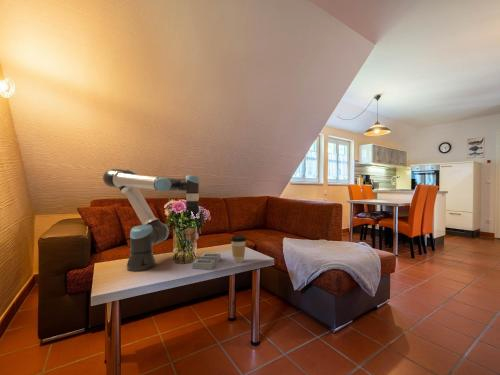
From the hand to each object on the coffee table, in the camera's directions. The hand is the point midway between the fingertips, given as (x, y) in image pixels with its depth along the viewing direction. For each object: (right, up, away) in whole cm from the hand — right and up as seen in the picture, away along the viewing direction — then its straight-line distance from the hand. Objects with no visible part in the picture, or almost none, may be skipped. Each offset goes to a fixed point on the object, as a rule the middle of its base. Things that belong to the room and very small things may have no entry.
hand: (192, 238), depth 142 cm
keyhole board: (+9, -15, -1) cm, 17 cm away
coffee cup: (+28, -15, +3) cm, 32 cm away
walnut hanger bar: (0, 0, 0) cm, 0 cm away
